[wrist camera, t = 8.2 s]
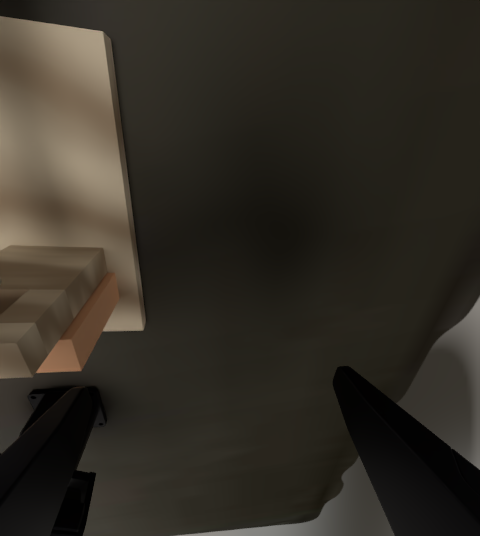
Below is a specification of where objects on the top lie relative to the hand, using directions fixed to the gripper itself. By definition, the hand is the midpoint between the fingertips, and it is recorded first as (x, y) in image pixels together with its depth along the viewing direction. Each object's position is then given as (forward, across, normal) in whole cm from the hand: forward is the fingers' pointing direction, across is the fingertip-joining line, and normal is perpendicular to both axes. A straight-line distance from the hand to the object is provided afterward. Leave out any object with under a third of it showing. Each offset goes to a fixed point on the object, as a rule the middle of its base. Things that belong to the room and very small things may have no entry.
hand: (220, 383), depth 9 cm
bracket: (+13, +11, -2) cm, 17 cm away
